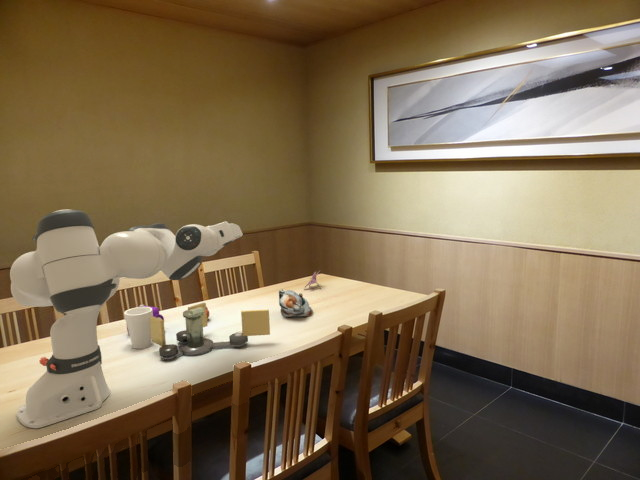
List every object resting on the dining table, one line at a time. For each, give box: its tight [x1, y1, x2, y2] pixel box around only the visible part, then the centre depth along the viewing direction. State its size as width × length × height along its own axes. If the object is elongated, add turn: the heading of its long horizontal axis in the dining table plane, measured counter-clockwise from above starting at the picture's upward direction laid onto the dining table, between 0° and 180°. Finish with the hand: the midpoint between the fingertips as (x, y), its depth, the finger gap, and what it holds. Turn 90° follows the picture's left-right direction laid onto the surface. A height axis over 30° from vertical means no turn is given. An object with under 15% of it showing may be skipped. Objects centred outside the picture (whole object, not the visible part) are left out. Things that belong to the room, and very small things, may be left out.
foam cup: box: [123, 306, 153, 350], centre depth 164 cm, size 10×9×13 cm
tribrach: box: [149, 302, 246, 362], centre depth 159 cm, size 26×23×15 cm
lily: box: [303, 271, 322, 290], centre depth 231 cm, size 12×12×10 cm
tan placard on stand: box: [228, 308, 271, 345], centre depth 162 cm, size 6×14×11 cm, turn 95°
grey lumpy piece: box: [278, 288, 314, 318], centre depth 191 cm, size 15×12×14 cm
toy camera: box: [125, 304, 165, 334], centre depth 177 cm, size 11×14×10 cm
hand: (218, 244), depth 156 cm, fingers closed
